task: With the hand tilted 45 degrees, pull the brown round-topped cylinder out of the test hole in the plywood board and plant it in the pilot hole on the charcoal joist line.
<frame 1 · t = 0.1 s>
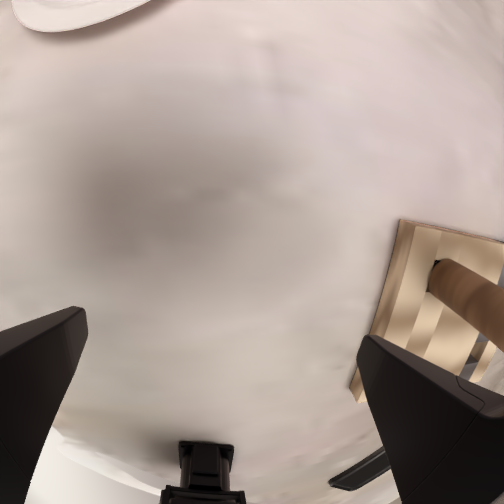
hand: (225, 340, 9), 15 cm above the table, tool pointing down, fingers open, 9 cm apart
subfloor: (448, 314, 27), on the table
brown round-topped cylinder: (427, 267, 25), resting in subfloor
phone: (376, 460, 35), on the table
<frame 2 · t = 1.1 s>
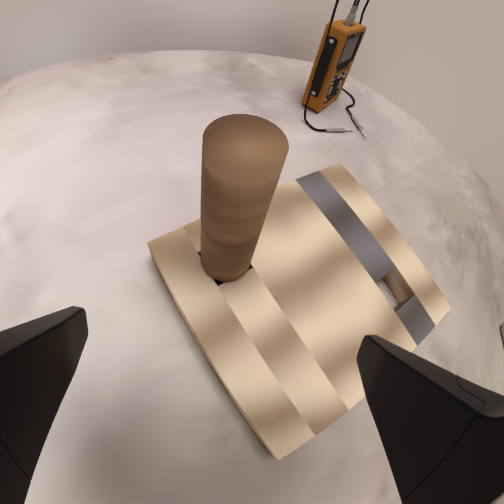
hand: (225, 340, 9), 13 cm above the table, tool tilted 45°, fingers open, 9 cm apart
multimeter: (341, 114, 38), on the table
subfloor: (311, 292, 25), on the table
brown round-topped cylinder: (223, 273, 24), resting in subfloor
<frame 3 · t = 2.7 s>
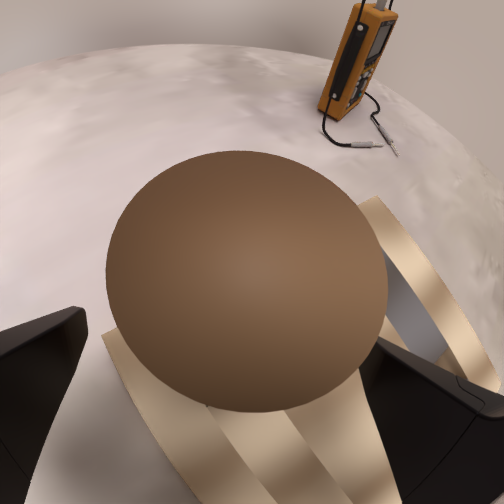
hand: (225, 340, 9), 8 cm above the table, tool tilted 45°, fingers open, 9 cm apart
multimeter: (366, 123, 30), on the table
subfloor: (339, 389, 16), on the table
brown round-topped cylinder: (215, 370, 16), resting in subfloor
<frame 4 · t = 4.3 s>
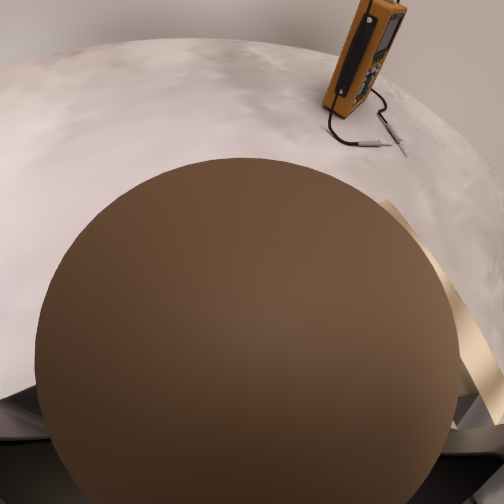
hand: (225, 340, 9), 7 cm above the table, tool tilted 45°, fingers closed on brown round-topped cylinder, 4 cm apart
multimeter: (373, 121, 28), on the table
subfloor: (347, 407, 15), on the table
brown round-topped cylinder: (214, 390, 14), resting in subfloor, touching gripper
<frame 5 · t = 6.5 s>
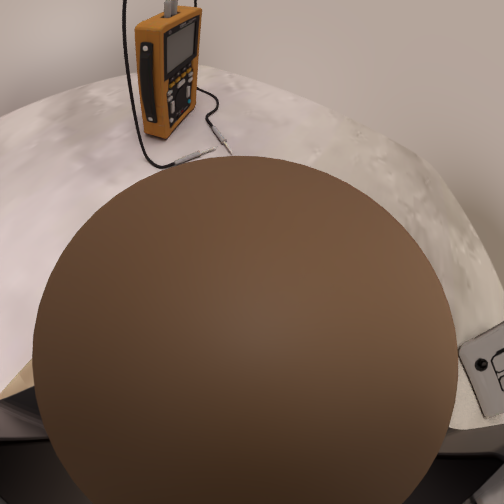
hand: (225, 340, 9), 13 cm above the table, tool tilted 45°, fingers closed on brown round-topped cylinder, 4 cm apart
multimeter: (199, 129, 31), on the table
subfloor: (175, 409, 18), on the table
electrical switch: (480, 370, 22), on the table
brown round-topped cylinder: (214, 390, 14), point 5 cm above the table, touching gripper
when the fingers open (8 cm above the table, at t = 8.6 s): brown round-topped cylinder stays where it is, resting in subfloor.
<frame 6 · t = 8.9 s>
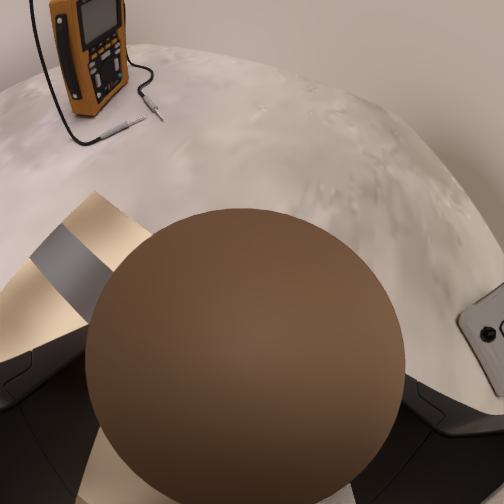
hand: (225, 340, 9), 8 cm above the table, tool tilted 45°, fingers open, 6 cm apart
multimeter: (131, 101, 25), on the table
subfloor: (101, 418, 13), on the table
electrical switch: (487, 341, 19), on the table
brown round-topped cylinder: (214, 391, 15), resting in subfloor
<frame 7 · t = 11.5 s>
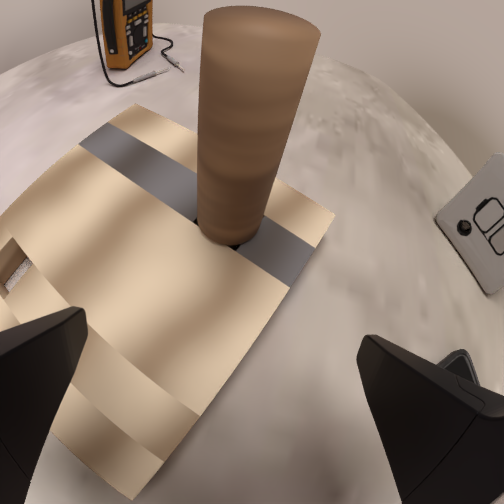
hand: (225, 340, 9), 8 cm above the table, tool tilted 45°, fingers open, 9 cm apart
multimeter: (156, 60, 30), on the table
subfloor: (123, 266, 18), on the table
electrical switch: (467, 245, 23), on the table
brown round-topped cylinder: (225, 241, 19), resting in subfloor
phone: (451, 450, 15), on the table
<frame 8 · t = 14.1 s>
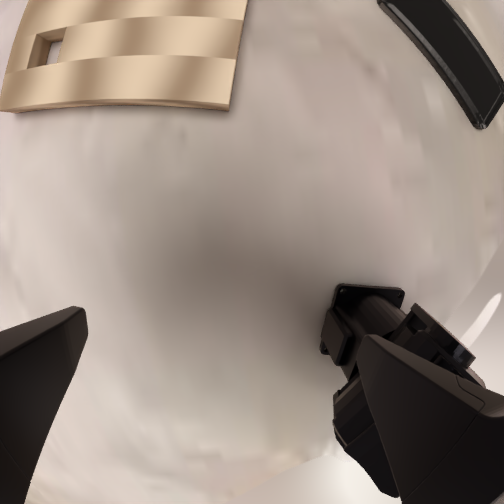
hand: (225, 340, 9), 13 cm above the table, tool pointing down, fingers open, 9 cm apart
phone: (447, 48, 18), on the table
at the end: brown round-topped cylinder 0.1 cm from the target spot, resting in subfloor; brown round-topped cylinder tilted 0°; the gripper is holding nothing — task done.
